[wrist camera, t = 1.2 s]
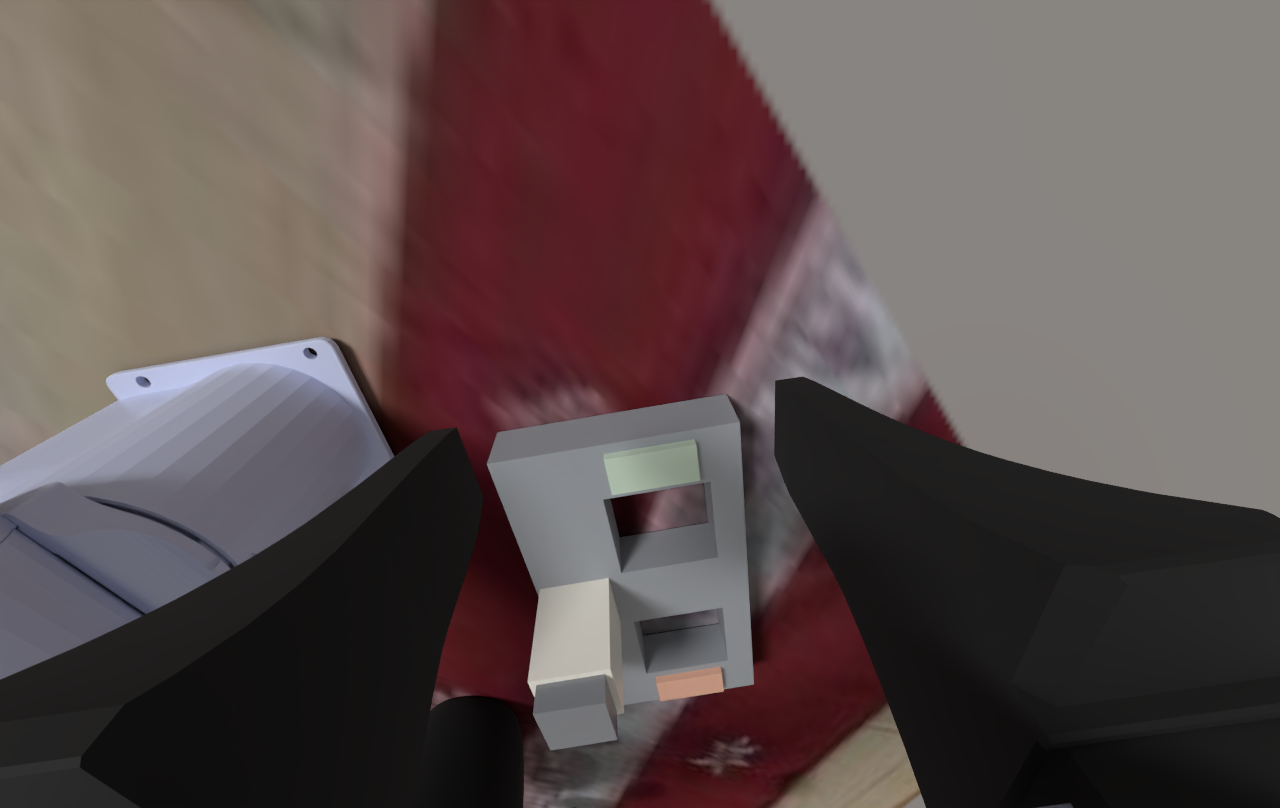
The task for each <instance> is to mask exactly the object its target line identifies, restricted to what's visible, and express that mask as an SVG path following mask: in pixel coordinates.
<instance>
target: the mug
mask: <svg viewBox="0 0 1280 808" xmlns="http://www.w3.org/2000/svg"><path fill="white" fill-rule="evenodd" d="M523 795H524V760H523V743H522V734H521V729H520V725H519V722H518V719H517V717H516V715H515V713H514V712H513V711H512V710H511V709H510V708H509V707H508V706H506V705H505V704H503V703H501V702H499V701H496V700H493V699H489V698H484V697H459V698H454V699H450V700H447V701H444V702H442V703H440V704H438V705H437V706H436V707H434V708H433V709H432V710H431V711H430V713H429V719H428V724H427V730H426V736H425V741H424V747H423V752H422V759H421V766H420V772H419V779H418V786H417V792H416V799H415V805H414V808H523Z"/></svg>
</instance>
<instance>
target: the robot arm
mask: <svg viewBox="0 0 1280 808" xmlns="http://www.w3.org/2000/svg"><path fill="white" fill-rule="evenodd" d="M308 348H312V349H314V350H315V351H316V352H317V355H313V354H311V353H310V351H309V349H308ZM144 377H145V378H147V379H148V380H149V381H150V382H148V381H147V380H146V379H145V378H144ZM106 384H107V386H108V387H109V389H110V390H111V391H112V392H113V394H114V395H115V396H116V397H117V399H118V401H116V402H114V403H112V404H111V405H109V406H107V407H105V408H103V409H102V410H100V411H98V412H96V413H94V414H93V415H91V416H89V417H87V418H86V419H84V420H82V421H80V422H78V423H77V424H75V425H73V426H71V427H69V428H68V429H66V430H64V431H62V432H60V433H59V434H57V435H55V436H53V437H51V438H50V439H48V440H46V441H44V442H42V443H41V444H39V445H37V446H35V447H33V448H32V449H30V450H28V451H26V452H24V453H23V454H21V455H19V456H17V457H15V458H14V459H12V460H10V461H8V462H6V463H5V464H3V465H1V466H0V808H414V805H415V799H416V792H417V786H418V779H419V772H420V766H421V759H422V752H423V747H424V741H425V736H426V730H427V724H428V719H429V713H430V708H431V702H432V697H433V692H434V687H435V682H436V677H437V673H438V668H439V663H440V658H441V653H442V649H443V645H444V642H445V638H446V634H447V631H448V627H449V624H450V621H451V618H452V615H453V612H454V609H455V605H456V602H457V599H458V596H459V593H460V590H461V587H462V584H463V581H464V577H465V574H466V571H467V568H468V565H469V562H470V558H471V555H472V552H473V549H474V546H475V542H476V539H477V535H478V529H479V524H480V518H481V511H482V504H483V495H482V492H481V489H480V487H479V484H478V482H477V479H476V476H475V474H474V471H473V469H472V466H471V464H470V461H469V458H468V456H467V453H466V451H465V448H464V445H463V443H462V440H461V438H460V435H459V433H458V430H457V427H456V428H449V429H442V430H435V431H430V432H428V433H426V434H425V435H423V436H421V437H420V438H418V439H417V440H416V441H414V442H413V443H412V444H410V445H409V446H408V447H406V448H405V449H404V450H402V451H401V452H400V453H398V454H397V455H396V456H395V457H394V455H393V453H392V451H391V449H390V447H389V445H388V443H387V441H386V439H385V437H384V435H383V433H382V431H381V429H380V427H379V425H378V423H377V421H376V419H375V417H374V415H373V413H372V412H371V410H370V408H369V406H368V404H367V402H366V400H365V398H364V396H363V394H362V392H361V390H360V388H359V386H358V384H357V382H356V380H355V378H354V376H353V374H352V372H351V370H350V368H349V366H348V364H347V362H346V360H345V358H344V356H343V354H342V352H341V351H340V349H339V347H338V345H337V344H336V342H334V341H333V340H332V339H330V338H327V337H318V338H312V339H306V340H301V341H295V342H289V343H283V344H277V345H271V346H265V347H260V348H254V349H248V350H242V351H236V352H230V353H224V354H219V355H213V356H207V357H201V358H195V359H189V360H183V361H178V362H172V363H166V364H160V365H154V366H148V367H143V368H137V369H131V370H125V371H119V372H116V373H114V374H112V375H110V376H108V377H107V379H106ZM774 455H775V458H776V461H777V463H778V466H779V469H780V472H781V474H782V477H783V479H784V482H785V484H786V487H787V489H788V492H789V494H790V496H791V497H792V499H793V501H794V503H795V505H796V507H797V508H798V510H799V512H800V514H801V516H802V518H803V519H804V521H805V523H806V525H807V527H808V528H809V530H810V532H811V534H812V536H813V537H814V539H815V541H816V543H817V545H818V546H819V548H820V550H821V552H822V554H823V555H824V557H825V559H826V561H827V563H828V564H829V566H830V568H831V570H832V572H833V573H834V575H835V577H836V579H837V581H838V583H839V585H840V587H841V589H842V591H843V594H844V596H845V598H846V601H847V603H848V605H849V608H850V610H851V612H852V615H853V617H854V619H855V622H856V624H857V626H858V629H859V631H860V633H861V636H862V638H863V641H864V643H865V646H866V648H867V651H868V653H869V656H870V658H871V661H872V663H873V666H874V668H875V671H876V673H877V676H878V678H879V680H880V683H881V685H882V688H883V691H884V693H885V696H886V699H887V701H888V704H889V707H890V709H891V712H892V715H893V717H894V720H895V722H896V725H897V728H898V730H899V733H900V736H901V738H902V741H903V744H904V746H905V749H906V752H907V755H908V758H909V760H910V763H911V766H912V769H913V772H914V775H915V777H916V780H917V783H918V786H919V789H920V792H921V794H922V797H923V800H924V803H925V806H926V808H1280V518H1278V517H1277V516H1275V515H1273V514H1271V513H1269V512H1266V511H1264V510H1259V509H1253V508H1246V507H1240V506H1233V505H1227V504H1220V503H1214V502H1207V501H1201V500H1194V499H1187V498H1180V497H1174V496H1167V495H1161V494H1155V493H1149V492H1144V491H1138V490H1133V489H1128V488H1123V487H1118V486H1113V485H1108V484H1103V483H1098V482H1093V481H1088V480H1084V479H1079V478H1075V477H1071V476H1066V475H1062V474H1058V473H1053V472H1049V471H1046V470H1042V469H1038V468H1034V467H1030V466H1027V465H1023V464H1019V463H1015V462H1012V461H1008V460H1004V459H1001V458H998V457H994V456H991V455H987V454H984V453H981V452H978V451H975V450H972V449H969V448H966V447H963V446H960V445H957V444H954V443H952V442H949V441H946V440H943V439H940V438H938V437H935V436H932V435H930V434H927V433H924V432H922V431H920V430H917V429H915V428H912V427H910V426H908V425H905V424H903V423H901V422H898V421H896V420H894V419H891V418H889V417H887V416H885V415H882V414H880V413H878V412H876V411H874V410H872V409H870V408H868V407H866V406H863V405H861V404H859V403H857V402H855V401H853V400H851V399H849V398H847V397H845V396H843V395H841V394H839V393H837V392H835V391H833V390H831V389H829V388H827V387H825V386H823V385H821V384H819V383H817V382H815V381H812V380H810V379H807V378H805V377H797V378H790V379H784V380H777V381H775V448H774Z"/></svg>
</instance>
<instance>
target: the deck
mask: <svg viewBox="0 0 1280 808" xmlns="http://www.w3.org/2000/svg"><path fill="white" fill-rule="evenodd" d="M487 466H488V469H489V471H490V474H491V476H492V479H493V481H494V484H495V486H496V489H497V492H498V494H499V497H500V499H501V502H502V504H503V507H504V509H505V512H506V515H507V517H508V520H509V522H510V525H511V527H512V530H513V532H514V535H515V538H516V540H517V543H518V545H519V548H520V550H521V553H522V555H523V558H524V561H525V563H526V566H527V568H528V571H529V573H530V576H531V578H532V581H533V584H534V586H535V589H536V591H537V594H538V596H539V592H540V589H545V588H551V587H557V586H563V585H569V584H575V583H581V582H587V581H593V580H600V579H606V578H609V581H610V585H611V589H612V592H613V596H614V600H615V603H616V607H617V611H618V614H619V618H620V622H621V646H622V670H623V694H624V705H628V704H635V703H641V702H647V701H653V700H659V699H660V701H667V700H673V699H679V698H686V697H692V696H698V695H704V694H711V693H717V692H723V691H724V689H728V688H734V687H741V686H747V685H753V684H754V677H753V658H752V640H751V621H750V602H749V584H748V565H747V546H746V528H745V509H744V491H743V472H742V453H741V435H740V421H739V419H738V417H737V415H736V413H735V411H734V409H733V407H732V405H731V403H730V400H729V398H728V396H727V394H724V395H718V396H712V397H706V398H700V399H694V400H688V401H682V402H676V403H670V404H664V405H658V406H652V407H646V408H640V409H634V410H628V411H622V412H616V413H610V414H604V415H598V416H592V417H586V418H580V419H574V420H568V421H563V422H557V423H551V424H545V425H539V426H533V427H527V428H521V429H515V430H509V431H503V432H498V433H497V436H496V438H495V441H494V444H493V447H492V450H491V453H490V456H489V459H488V462H487ZM701 483H704V488H705V497H706V507H707V516H708V523H703V524H697V525H691V526H685V527H679V528H673V529H667V530H661V531H655V532H649V533H643V534H637V535H631V536H624V537H619V533H618V528H617V524H616V520H615V516H614V512H613V507H612V503H611V499H610V498H616V497H622V496H628V495H634V494H640V493H646V492H652V491H658V490H664V489H670V488H676V487H682V486H689V485H695V484H701ZM711 609H717V610H718V619H719V624H714V625H707V626H701V627H695V628H689V629H683V630H677V631H670V632H664V633H658V634H652V635H646V636H643V633H642V629H641V625H640V621H643V620H649V619H655V618H662V617H668V616H674V615H680V614H686V613H692V612H699V611H705V610H711Z"/></svg>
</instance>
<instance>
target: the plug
mask: <svg viewBox="0 0 1280 808" xmlns="http://www.w3.org/2000/svg"><path fill="white" fill-rule="evenodd" d="M528 684H529V686H530V689H531V691H532V693H533V695H534V697H535V700H534V709H533V716H534V718H535V720H536V722H537V724H538V726H539V728H540V730H541V732H542V734H543V736H544V738H545V740H546V742H547V744H548V746H549V748H550V750H557V749H563V748H570V747H576V746H582V745H589V744H595V743H601V742H607V741H614V740H618V734H617V715H619V714H624V694H623V670H622V646H621V622H620V618H619V614H618V611H617V607H616V603H615V600H614V596H613V592H612V589H611V585H610V581H609V578H606V579H600V580H593V581H587V582H581V583H575V584H569V585H563V586H557V587H551V588H545V589H540V592H539V599H538V607H537V614H536V622H535V630H534V637H533V645H532V652H531V660H530V667H529V675H528Z"/></svg>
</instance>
